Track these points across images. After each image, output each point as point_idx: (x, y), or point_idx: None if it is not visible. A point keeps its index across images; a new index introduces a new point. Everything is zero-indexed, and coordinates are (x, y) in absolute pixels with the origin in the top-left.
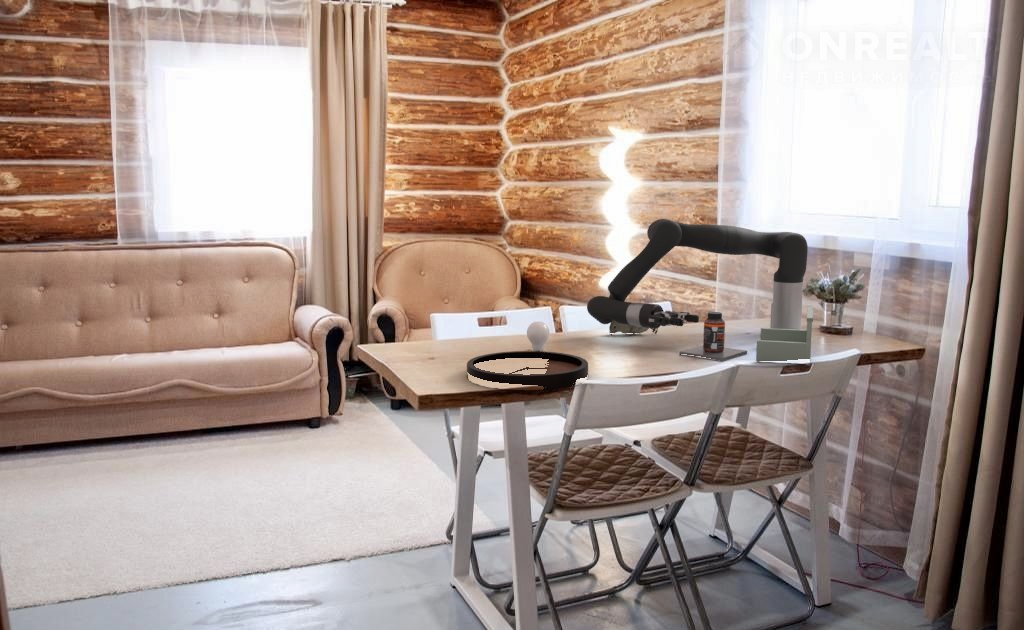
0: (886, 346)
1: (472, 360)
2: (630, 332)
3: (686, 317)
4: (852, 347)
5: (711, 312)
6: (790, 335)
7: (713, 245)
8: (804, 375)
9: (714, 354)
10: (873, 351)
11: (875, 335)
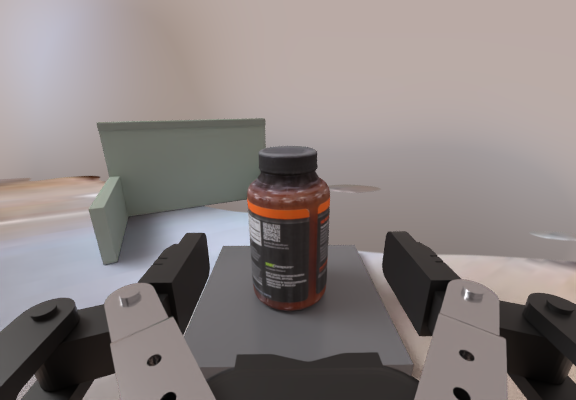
0: (56, 186)
1: None
2: None
3: (168, 314)
4: (72, 198)
5: (297, 151)
6: (118, 197)
7: None
8: (332, 187)
9: (337, 267)
10: None
11: None
